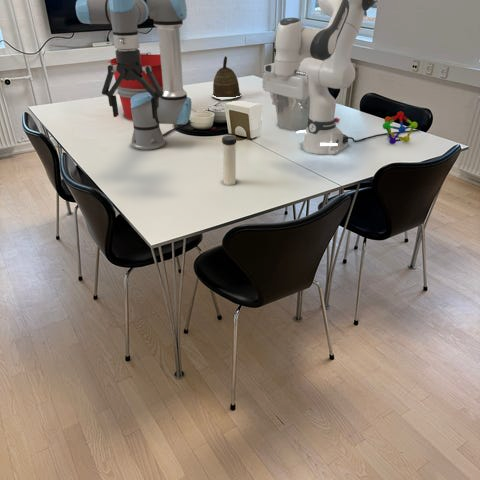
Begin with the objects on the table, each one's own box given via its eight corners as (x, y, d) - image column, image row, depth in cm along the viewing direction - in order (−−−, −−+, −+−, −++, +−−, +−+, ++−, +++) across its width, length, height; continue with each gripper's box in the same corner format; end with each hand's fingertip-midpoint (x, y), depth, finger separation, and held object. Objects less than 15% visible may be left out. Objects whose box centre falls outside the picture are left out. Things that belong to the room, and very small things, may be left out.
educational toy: (377, 146, 209) (379, 114, 202) (384, 138, 219) (386, 107, 211) (411, 149, 202) (415, 116, 195) (417, 141, 212) (420, 109, 204)
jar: (235, 185, 170) (235, 141, 161) (223, 185, 170) (222, 141, 160) (235, 179, 174) (235, 136, 165) (223, 180, 174) (222, 136, 164)
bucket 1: (123, 105, 263) (116, 51, 247) (182, 106, 262) (179, 52, 247) (107, 123, 234) (97, 63, 218) (173, 124, 233) (168, 64, 217)
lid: (236, 145, 161) (236, 140, 160) (222, 145, 161) (222, 140, 160) (236, 140, 166) (236, 135, 165) (222, 140, 165) (222, 135, 164)
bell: (227, 105, 294) (202, 96, 282) (238, 66, 289) (213, 55, 277) (243, 108, 280) (217, 98, 268) (255, 66, 275) (229, 55, 263)
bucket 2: (296, 138, 215) (301, 78, 201) (255, 124, 234) (256, 68, 219) (335, 125, 232) (342, 70, 217) (294, 113, 251) (297, 61, 236)
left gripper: (84, 50, 136) (95, 118, 148) (163, 52, 134) (168, 121, 145) (93, 46, 143) (104, 112, 154) (169, 48, 140) (174, 114, 152)
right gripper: (314, 71, 155) (310, 111, 162) (272, 63, 167) (270, 100, 175) (302, 74, 151) (299, 114, 158) (260, 65, 164) (259, 103, 171)
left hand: (135, 116), depth 150 cm, fingers open, 13 cm apart
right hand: (283, 107), depth 166 cm, fingers open, 8 cm apart
